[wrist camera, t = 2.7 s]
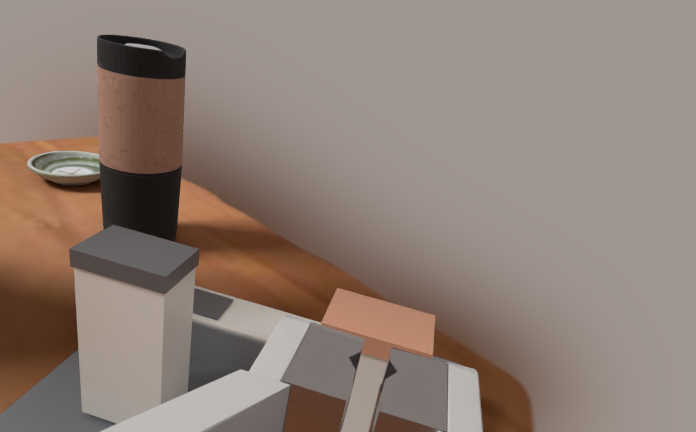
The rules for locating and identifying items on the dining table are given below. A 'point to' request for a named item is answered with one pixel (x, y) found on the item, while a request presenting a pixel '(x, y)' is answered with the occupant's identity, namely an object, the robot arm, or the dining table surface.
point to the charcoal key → (132, 320)
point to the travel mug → (140, 132)
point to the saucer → (66, 167)
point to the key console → (205, 364)
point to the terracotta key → (376, 344)
